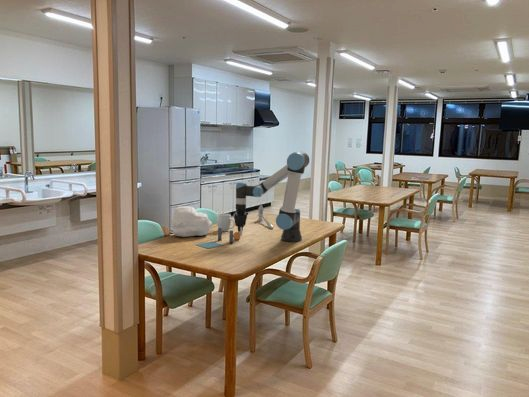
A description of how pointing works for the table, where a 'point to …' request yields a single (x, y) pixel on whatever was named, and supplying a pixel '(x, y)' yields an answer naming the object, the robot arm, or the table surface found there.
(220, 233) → the post
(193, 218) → the sculpture
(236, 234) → the ball
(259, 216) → the hammer
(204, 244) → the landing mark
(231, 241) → the post
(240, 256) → the table surface
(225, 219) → the mug
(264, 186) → the robot arm
